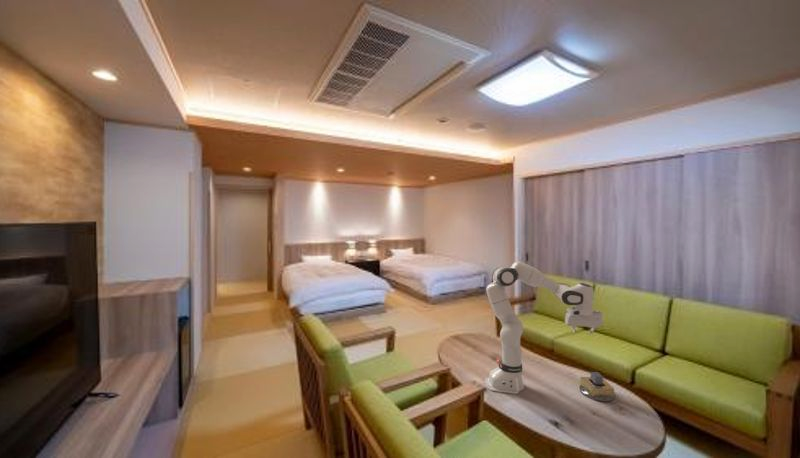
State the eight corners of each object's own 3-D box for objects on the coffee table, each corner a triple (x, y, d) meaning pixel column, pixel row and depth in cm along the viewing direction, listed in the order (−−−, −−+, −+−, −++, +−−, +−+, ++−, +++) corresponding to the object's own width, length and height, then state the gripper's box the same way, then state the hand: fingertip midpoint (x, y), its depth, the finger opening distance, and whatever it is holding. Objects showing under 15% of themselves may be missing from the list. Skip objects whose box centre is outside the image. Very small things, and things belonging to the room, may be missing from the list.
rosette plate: (589, 401, 171) (589, 391, 171) (573, 384, 188) (574, 374, 188) (621, 402, 170) (621, 391, 170) (602, 384, 187) (603, 374, 187)
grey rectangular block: (595, 393, 177) (595, 376, 176) (590, 388, 182) (590, 371, 181) (602, 393, 176) (602, 376, 176) (597, 388, 181) (598, 372, 181)
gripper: (599, 309, 187) (598, 331, 188) (564, 308, 189) (563, 330, 190) (605, 312, 181) (604, 335, 182) (569, 311, 182) (568, 334, 183)
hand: (583, 333), depth 186 cm, fingers open, 8 cm apart
